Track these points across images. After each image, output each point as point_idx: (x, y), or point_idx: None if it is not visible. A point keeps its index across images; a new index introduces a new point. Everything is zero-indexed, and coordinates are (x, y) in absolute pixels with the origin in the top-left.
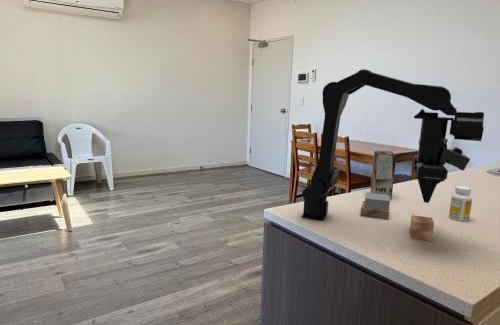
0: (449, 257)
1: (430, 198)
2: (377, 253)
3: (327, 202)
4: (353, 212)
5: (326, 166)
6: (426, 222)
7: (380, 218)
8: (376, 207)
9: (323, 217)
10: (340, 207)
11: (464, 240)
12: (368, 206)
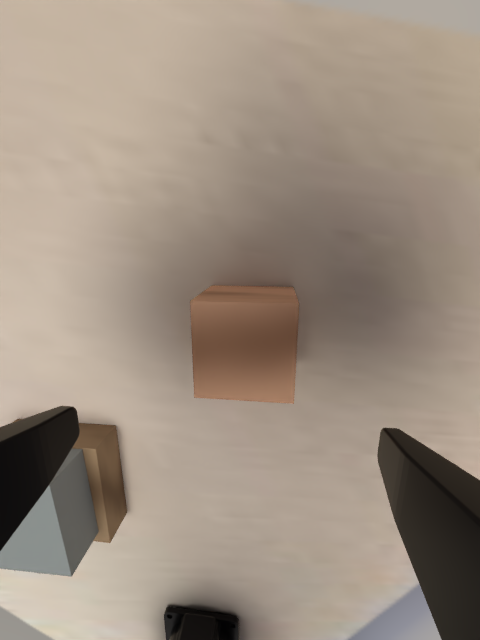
0: (441, 235)
1: (436, 454)
2: (477, 478)
3: None
4: None
5: None
6: (289, 340)
7: (117, 452)
8: (86, 499)
9: (222, 621)
10: None
11: (210, 139)
12: (91, 526)
